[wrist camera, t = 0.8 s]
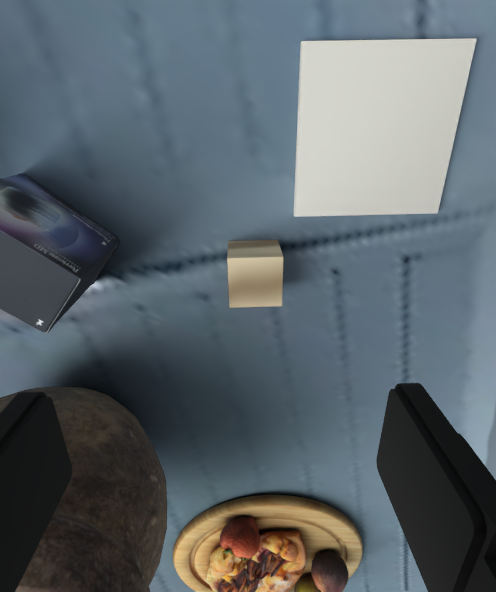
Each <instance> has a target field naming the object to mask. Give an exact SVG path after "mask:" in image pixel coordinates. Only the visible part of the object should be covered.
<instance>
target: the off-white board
mask: <svg viewBox="0 0 496 592" xmlns="http://www.w3.org/2000/svg"><path fill="white" fill-rule="evenodd" d="M476 40H477V38H476V39H410V40H344V41H302V42H301V47H300V71H299V95H298V120H297V144H296V168H295V193H294V217H302V216H345V215H389V214H432V213H438V210H439V205H440V201H441V196H442V192H443V187H444V183H445V178H446V174H447V169H448V165H449V160H450V156H451V151H452V147H453V142H454V138H455V134H456V129H457V125H458V120H459V116H460V111H461V107H462V102H463V98H464V93H465V89H466V84H467V80H468V75H469V71H470V66H471V62H472V58H473V53H474V49H475V44H476Z"/></svg>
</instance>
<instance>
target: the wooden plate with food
mask: <svg viewBox="0 0 496 592" xmlns="http://www.w3.org/2000/svg"><path fill="white" fill-rule="evenodd" d="M362 554H363V544H362V539H361V536H360V533H359V531H358V529H357V528H356V526H355V525H354V523H353V522H352V521H351V520H350V519H349V518H348V517H347V516H345V515H344V514H343V513H341V512H340V511H338V510H336V509H334V508H333V507H331V506H329V505H326V504H324V503H321V502H318V501H315V500H311V499H307V498H303V497H297V496H289V495H259V496H250V497H245V498H240V499H235V500H232V501H228V502H225V503H222V504H219V505H217V506H214V507H212V508H210V509H208V510H206V511H205V512H203V513H201V514H200V515H198V516H197V517H195V518H194V519H193V520H191V521H190V522H189V523H188V524H187V525H186V526H185V527H184V528H183V530H182V531H181V532H180V534H179V536H178V538H177V540H176V542H175V545H174V549H173V563H174V566H175V569H176V571H177V573H178V575H179V576H180V578H181V579H182V580H183V581H184V582H185V583H186V584H187V585H188V586H189V587H190V588H192V589H193V590H194V591H196V592H342V591H343V590H344V588H345V586H346V584H347V581H348V579H349V578H350V577H351V576H352V575H353V574H354V572H355V571H356V570H357V568H358V566H359V564H360V561H361V558H362Z"/></svg>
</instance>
